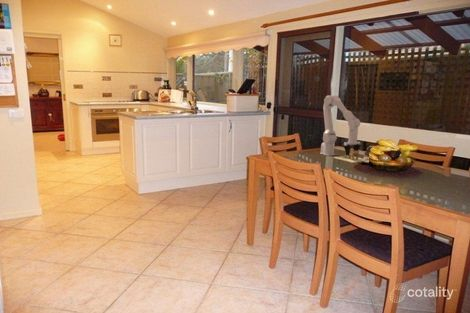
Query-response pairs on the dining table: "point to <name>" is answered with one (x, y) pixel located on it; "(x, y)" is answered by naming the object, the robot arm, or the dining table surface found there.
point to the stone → (366, 155)
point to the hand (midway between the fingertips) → (351, 155)
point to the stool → (352, 154)
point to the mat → (349, 159)
